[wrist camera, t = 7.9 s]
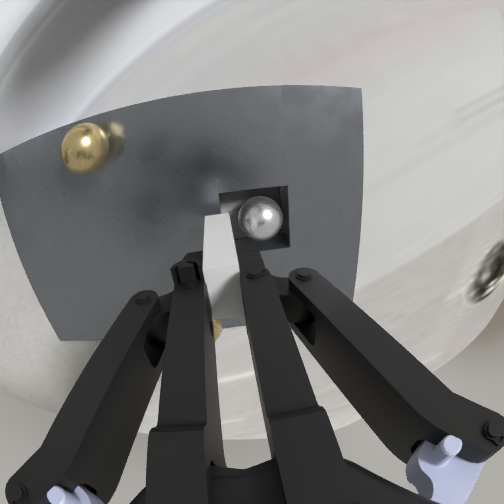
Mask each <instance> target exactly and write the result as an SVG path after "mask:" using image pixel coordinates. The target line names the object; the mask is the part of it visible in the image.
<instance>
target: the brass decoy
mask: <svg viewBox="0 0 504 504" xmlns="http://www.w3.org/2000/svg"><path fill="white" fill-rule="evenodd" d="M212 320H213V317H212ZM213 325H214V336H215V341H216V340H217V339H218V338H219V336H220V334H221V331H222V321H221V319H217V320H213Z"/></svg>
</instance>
